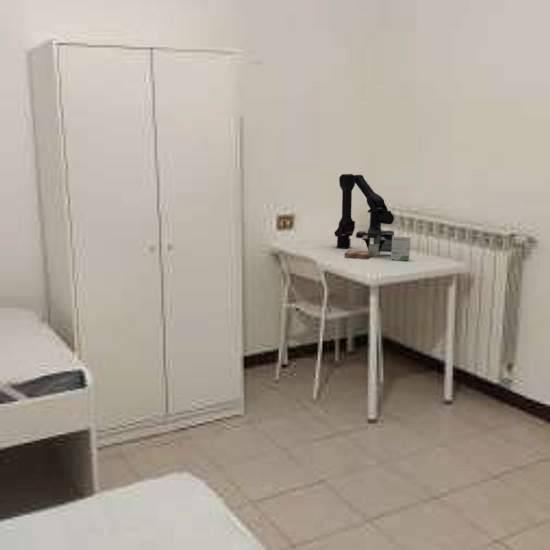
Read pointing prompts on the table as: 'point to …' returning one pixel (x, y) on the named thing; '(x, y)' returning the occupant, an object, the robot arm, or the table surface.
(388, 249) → the small box
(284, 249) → the table surface
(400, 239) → the ink box
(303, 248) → the table surface
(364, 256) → the brown wooden tray
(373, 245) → the sage cube
